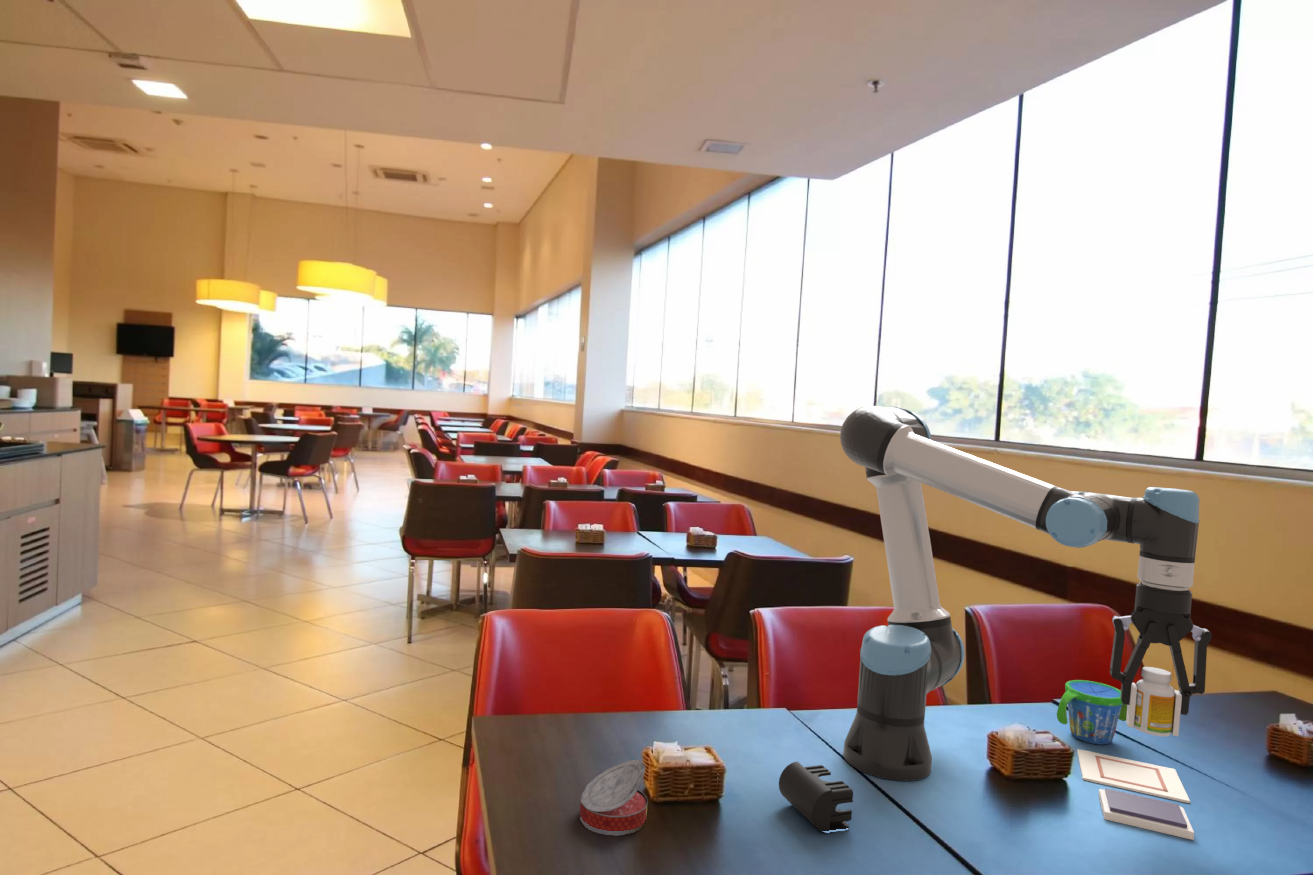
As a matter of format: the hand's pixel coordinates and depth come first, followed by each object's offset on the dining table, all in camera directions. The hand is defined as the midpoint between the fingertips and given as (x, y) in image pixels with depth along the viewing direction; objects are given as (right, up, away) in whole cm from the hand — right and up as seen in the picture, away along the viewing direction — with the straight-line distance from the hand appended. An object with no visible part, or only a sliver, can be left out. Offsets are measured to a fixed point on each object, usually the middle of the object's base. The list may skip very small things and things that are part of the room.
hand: (1151, 728), depth 129 cm
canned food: (-86, -10, -11) cm, 87 cm away
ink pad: (-1, -14, +1) cm, 15 cm away
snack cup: (+8, -14, +33) cm, 36 cm away
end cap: (-56, -11, -7) cm, 57 cm away
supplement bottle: (0, -1, 0) cm, 1 cm away
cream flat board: (+6, -14, +16) cm, 22 cm away
